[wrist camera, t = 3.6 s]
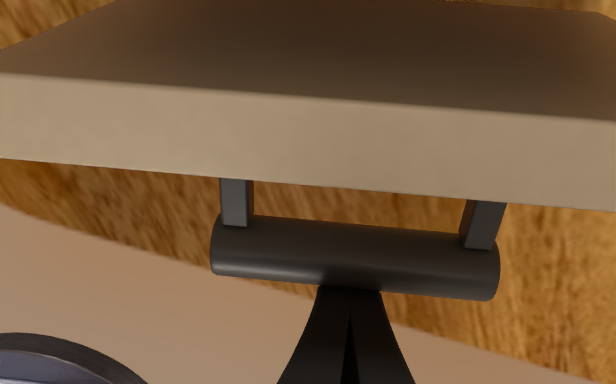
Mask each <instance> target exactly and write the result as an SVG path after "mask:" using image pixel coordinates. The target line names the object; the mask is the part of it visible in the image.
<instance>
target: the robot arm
mask: <svg viewBox="0 0 616 384" xmlns="http://www.w3.org/2000/svg"><path fill="white" fill-rule="evenodd" d="M0 384H49V383H40V382H31V381H22V380H13V379H4V378H0ZM277 384H416V383H415V381H414V379H413V377H412V375H411V373H410V371H409V368H408V366H407V364H406V362H405V359H404V357H403V355H402V353H401V351H400V348H399V346H398V343H397V341H396V338H395V336H394V333H393V331H392V328H391V325H390V322H389V320H388V317H387V314H386V311H385V307H384V304H383V300H382V296H381V293H380V292H379V291H373V290H363V289H353V288H343V287H333V286H323V285H321V286H319V287H318V290H317V295H316V299H315V302H314V306H313V309H312V311H311V314H310V317H309V319H308V322H307V324H306V327H305V329H304V331H303V334H302V336H301V338H300V340H299V342H298V344H297V346H296V348H295V351H294V353H293V355H292V357H291V359H290V361H289V362H288V364H287V366H286V368H285V370H284V371H283V373H282V375H281V377H280V379H279V380H278V382H277Z"/></svg>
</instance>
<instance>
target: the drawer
mask: <svg viewBox="0 0 616 384" xmlns="http://www.w3.org/2000/svg"><path fill="white" fill-rule="evenodd" d="M0 158H6V159H17V160H29V161H40V162H51V163H63V164H74V165H85V166H97V167H108V168H119V169H131V170H142V171H153V172H165V173H176V174H187V175H199V176H210V177H219V187H220V203H221V213H220V214H219V215H218V216H217V219H216V221H215V223H214V226H213V230H212V235H211V241H210V266H211V270H212V272H213V273H214V274H216V275H221V276H232V277H242V278H252V279H262V280H272V281H282V282H292V283H302V284H312V285H323V286H333V287H343V288H353V289H363V290H373V291H383V292H393V293H403V294H414V295H424V296H434V297H444V298H454V299H464V300H474V301H484V302H486V301H489V300H491V299H492V298H493V297H494V295H495V293H496V291H497V288H498V284H499V279H500V255H499V250H498V246H497V244H496V242H495V239H496V236H497V232H498V229H499V226H500V223H501V220H502V217H503V214H504V211H505V208H506V205H507V203H516V204H527V205H538V206H549V207H561V208H572V209H583V210H595V211H606V212H616V21H615V20H613V19H611V18H609V17H607V16H605V15H603V14H601V13H599V12H588V11H573V10H558V9H543V8H529V7H514V6H499V5H484V4H470V3H455V2H440V1H425V0H116V1H114V2H111V3H109V4H107V5H104V6H102V7H100V8H98V9H95V10H93V11H91V12H88V13H86V14H84V15H81V16H79V17H77V18H74V19H72V20H70V21H67V22H65V23H63V24H60V25H58V26H56V27H53V28H51V29H49V30H46V31H44V32H42V33H40V34H37V35H35V36H33V37H30V38H28V39H26V40H23V41H21V42H19V43H16V44H14V45H12V46H9V47H7V48H5V49H2V50H0ZM253 180H255V181H266V182H278V183H289V184H300V185H312V186H323V187H334V188H346V189H357V190H368V191H380V192H391V193H402V194H414V195H425V196H436V197H448V198H459V199H467V201H466V205H465V209H464V212H463V216H462V220H461V223H460V227H459V234H458V233H447V232H436V231H426V230H415V229H404V228H393V227H382V226H371V225H360V224H349V223H339V222H328V221H317V220H306V219H295V218H284V217H273V216H263V215H253V213H254V186H253Z"/></svg>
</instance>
